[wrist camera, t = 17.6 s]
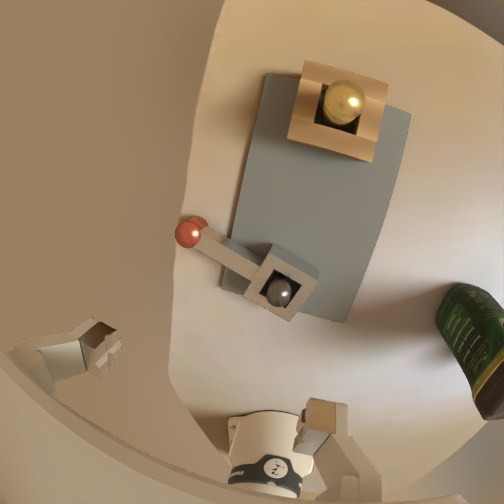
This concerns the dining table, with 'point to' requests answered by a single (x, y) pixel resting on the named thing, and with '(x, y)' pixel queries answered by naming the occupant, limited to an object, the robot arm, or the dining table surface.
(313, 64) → the slot block
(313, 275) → the knob socket block
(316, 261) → the mat
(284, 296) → the post
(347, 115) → the pin
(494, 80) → the dining table surface
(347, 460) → the robot arm
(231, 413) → the dining table surface
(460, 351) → the coffee jar
